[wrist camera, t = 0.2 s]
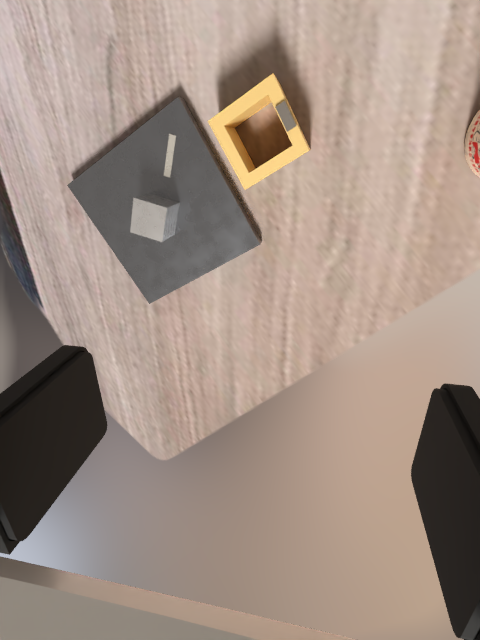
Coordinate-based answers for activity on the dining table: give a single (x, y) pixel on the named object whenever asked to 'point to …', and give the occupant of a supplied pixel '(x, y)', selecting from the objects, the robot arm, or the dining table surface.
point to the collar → (245, 109)
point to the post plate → (188, 185)
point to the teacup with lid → (473, 145)
